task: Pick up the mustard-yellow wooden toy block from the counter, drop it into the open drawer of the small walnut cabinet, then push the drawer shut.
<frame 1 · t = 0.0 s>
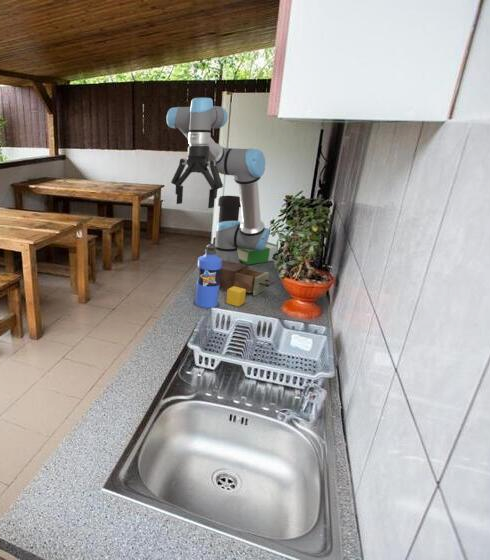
hand: (194, 205, 157), 40 cm above the kitchen counter, tool pointing down, fingers open, 13 cm apart
water bottle: (206, 304, 174), on the kitchen counter
cabinet: (224, 285, 196), on the kitchen counter
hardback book: (236, 253, 232), point 4 cm above the kitchen counter
drawer: (252, 281, 186), point 5 cm above the kitchen counter, slide at 9.0 cm
grey black cylinder: (226, 245, 268), on the kitchen counter
toy block: (235, 302, 175), on the kitchen counter
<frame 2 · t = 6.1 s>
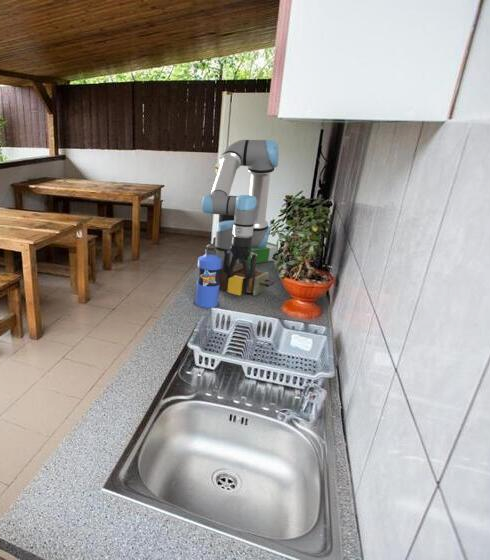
hand: (236, 291, 173), 5 cm above the kitchen counter, tool pointing down, fingers closed on toy block, 5 cm apart
toy block: (236, 292, 174), point 5 cm above the kitchen counter, touching gripper
everything else where it was.
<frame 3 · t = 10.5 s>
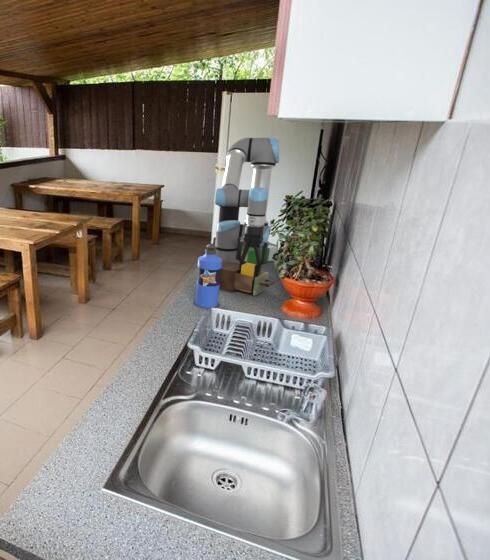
hand: (248, 277, 187), 6 cm above the kitchen counter, tool pointing down, fingers closed on toy block, 5 cm apart
toy block: (248, 278, 187), point 6 cm above the kitchen counter, touching gripper
everything else where it was.
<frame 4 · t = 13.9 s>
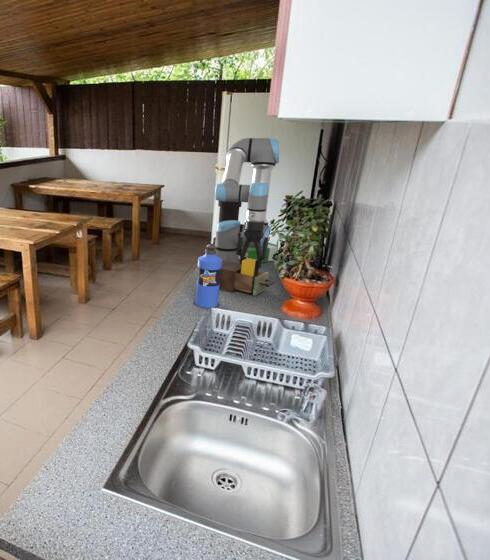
hand: (249, 272, 186), 8 cm above the kitchen counter, tool pointing down, fingers closed on toy block, 5 cm apart
toy block: (249, 273, 186), point 8 cm above the kitchen counter, touching gripper
everything else where it was.
when the fingers open (10 cm above the kitchen counter, at t = 22.2 s): toy block drops 7 cm, resting on drawer.
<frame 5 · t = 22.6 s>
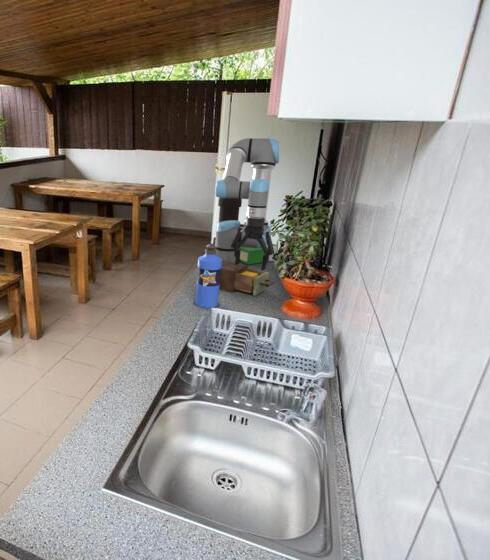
hand: (250, 266, 185), 11 cm above the kitchen counter, tool pointing down, fingers open, 11 cm apart
drawer: (252, 281, 186), point 5 cm above the kitchen counter, slide at 9.0 cm, touching toy block
toy block: (247, 286, 188), point 2 cm above the kitchen counter, touching drawer
everything else where it was.
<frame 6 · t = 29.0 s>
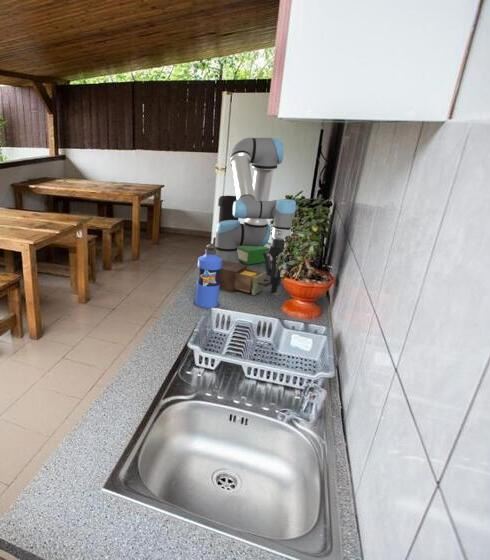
hand: (273, 292, 181), 2 cm above the kitchen counter, tool pointing down, fingers closed
drawer: (250, 281, 186), point 5 cm above the kitchen counter, slide at 8.4 cm, touching gripper, toy block
everything else where it was.
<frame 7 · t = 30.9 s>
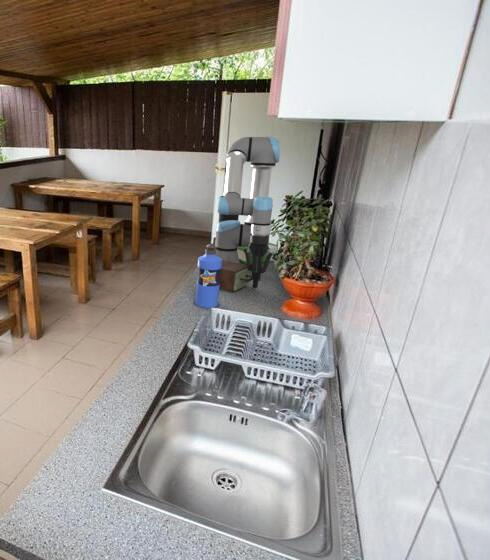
hand: (255, 287, 186), 2 cm above the kitchen counter, tool pointing down, fingers closed
drawer: (233, 277, 192), point 5 cm above the kitchen counter, slide at 0.0 cm, touching cabinet, gripper, toy block
toy block: (229, 282, 194), point 2 cm above the kitchen counter, touching drawer
everything else where it was.
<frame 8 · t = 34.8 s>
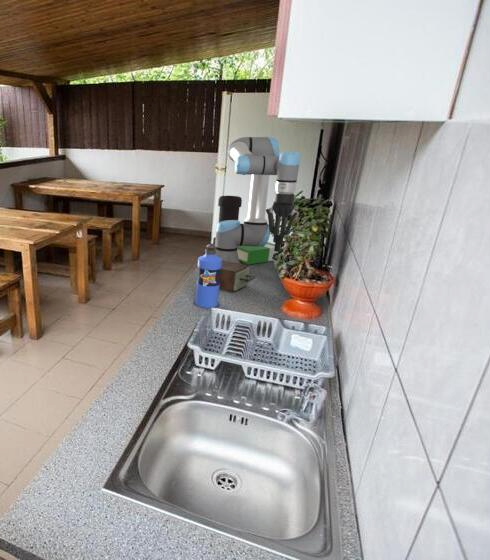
hand: (277, 250, 175), 20 cm above the kitchen counter, tool pointing down, fingers closed
drawer: (233, 277, 192), point 5 cm above the kitchen counter, slide at 0.0 cm, touching cabinet, toy block
everything else where it was.
at the end: toy block inside the target area in the cabinet (2.2 cm from its centre), point 2.0 cm above the cabinet's base; drawer slide at 0.0 cm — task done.
